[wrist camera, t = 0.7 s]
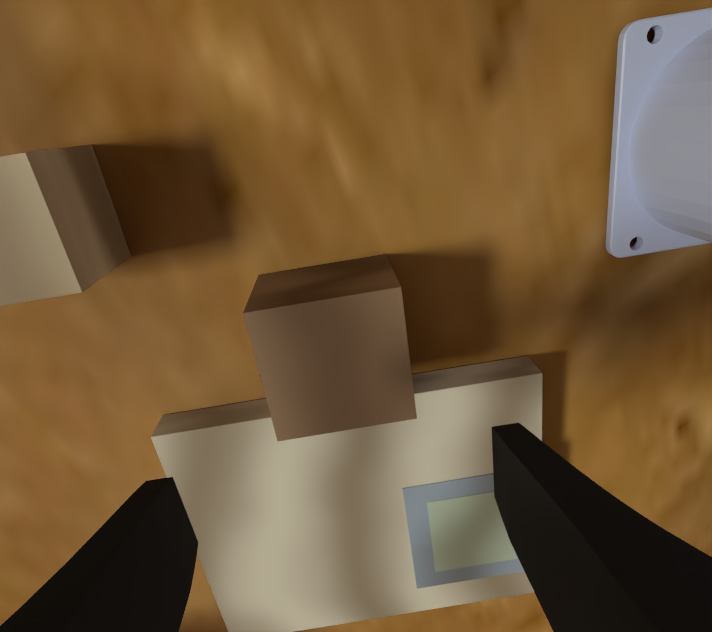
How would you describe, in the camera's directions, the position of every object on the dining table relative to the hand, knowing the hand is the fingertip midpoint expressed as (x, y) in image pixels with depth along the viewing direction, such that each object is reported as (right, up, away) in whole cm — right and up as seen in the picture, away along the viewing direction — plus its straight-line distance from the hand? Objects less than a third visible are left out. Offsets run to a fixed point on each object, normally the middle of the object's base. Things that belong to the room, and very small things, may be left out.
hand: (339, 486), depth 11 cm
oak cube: (-10, +8, +6) cm, 14 cm away
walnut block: (-1, +4, +9) cm, 10 cm away
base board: (+1, -5, +12) cm, 13 cm away
